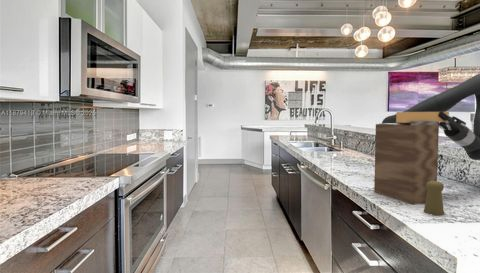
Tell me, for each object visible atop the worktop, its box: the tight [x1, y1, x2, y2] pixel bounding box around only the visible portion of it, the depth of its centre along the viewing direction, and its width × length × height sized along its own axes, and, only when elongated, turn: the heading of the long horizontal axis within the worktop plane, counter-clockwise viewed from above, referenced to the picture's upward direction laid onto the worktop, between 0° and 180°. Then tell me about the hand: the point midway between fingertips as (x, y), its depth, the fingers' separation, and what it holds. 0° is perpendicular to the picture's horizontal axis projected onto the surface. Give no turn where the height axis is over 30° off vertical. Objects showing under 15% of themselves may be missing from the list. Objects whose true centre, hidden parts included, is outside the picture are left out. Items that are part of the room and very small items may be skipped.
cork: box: [423, 180, 445, 216], centre depth 107 cm, size 6×6×11 cm
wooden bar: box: [395, 111, 450, 123], centre depth 122 cm, size 22×4×4 cm, turn 108°
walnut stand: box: [373, 121, 440, 205], centre depth 128 cm, size 12×20×32 cm, turn 18°
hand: (433, 113), depth 124 cm, fingers closed on wooden bar, 4 cm apart
